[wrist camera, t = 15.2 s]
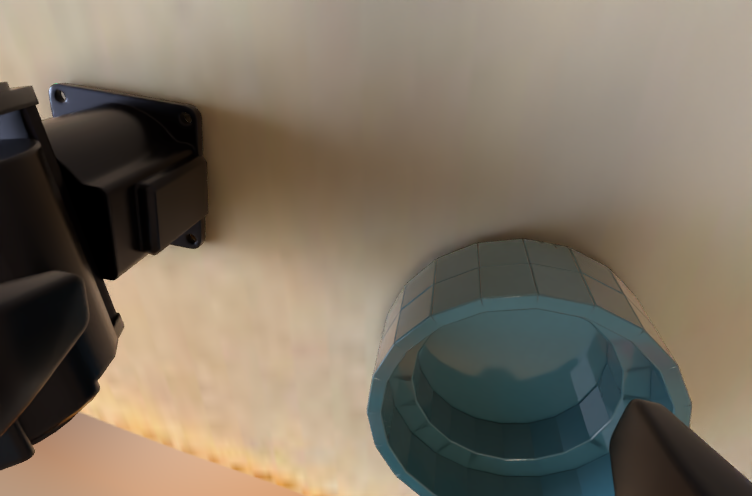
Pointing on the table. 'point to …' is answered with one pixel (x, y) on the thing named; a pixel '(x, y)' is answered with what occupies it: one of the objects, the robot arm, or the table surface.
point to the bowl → (514, 373)
